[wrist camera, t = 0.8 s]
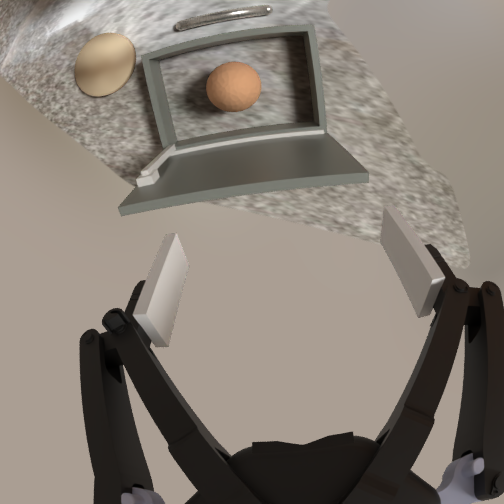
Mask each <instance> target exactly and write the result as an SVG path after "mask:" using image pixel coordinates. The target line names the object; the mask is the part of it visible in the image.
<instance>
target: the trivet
mask: <svg viewBox="0 0 504 504" xmlns="http://www.w3.org/2000/svg"><path fill="white" fill-rule="evenodd" d="M135 64H136V52H135V48H134V46H133V44H132V43H131V41H130V40H129V39H128V38H126V37H125V36H123V35H120V34H115V33H104V34H100V35H98V36H96V37H94V38H92V39H91V40H90V41H89V42H87V43H86V44H85V46H84V47H83V48H82V50H81V51H80V53H79V55H78V57H77V60H76V64H75V78H76V82H77V84H78V86H79V87H80V89H81V90H82V91H83V92H85V93H86V94H88V95H91V96H105V95H109V94H112V93H114V92H116V91H118V90H119V89H120V88H122V87H123V86H124V85H125V84H126V83H127V81H128V80H129V79H130V77H131V75H132V73H133V71H134V68H135Z"/></svg>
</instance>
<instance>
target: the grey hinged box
mask: <svg viewBox="0 0 504 504" xmlns="http://www.w3.org/2000/svg"><path fill="white" fill-rule="evenodd" d="M300 35H303V40H304V46H305V52H306V59H307V66H308V73H309V81H310V89H311V98H312V107H313V117H314V121H311V122H298V123H287V124H277V125H269V126H261V127H253V128H246V129H240V130H233V131H227V132H221V133H216V134H211V135H205V136H200V137H195V138H191V139H186V140H182V141H177V138H176V134H175V130H174V126H173V122H172V118H171V113H170V109H169V105H168V100H167V96H166V92H165V87H164V82H163V78H162V73H161V68H160V64H159V60H162V59H165V58H168V57H172V56H175V55H179V54H182V53H186V52H190V51H194V50H198V49H203V48H207V47H212V46H217V45H222V44H227V43H233V42H239V41H246V40H253V39H261V38H271V37H283V36H300ZM141 58H142V63H143V68H144V72H145V77H146V81H147V86H148V90H149V95H150V99H151V103H152V107H153V112H154V116H155V120H156V124H157V128H158V131H159V135H160V139H161V143H162V147H163V151H162V152H161V153H160V154H159V155H158V156H157V157H155V158H154V159H153V160H152V161H151V162H150V163H149V164H148V165H147V166H146V167H145V168H144V169H143V170H142V171H141V175H140V176H139V177H138V178H137V179H136V181H137V184H138V185H137V186H136V187H135V188H134V190H133V191H132V192H131V193H130V194H129V195H128V196H127V197H126V199H125V200H124V201H123V202H122V203H121V204H120V206H119V207H118V209H119V212H120V214H121V216H125V215H129V214H134V213H140V212H144V211H149V210H155V209H160V208H166V207H172V206H177V205H183V204H189V203H195V202H201V201H208V200H214V199H221V198H228V197H235V196H242V195H249V194H257V193H265V192H273V191H282V190H291V189H300V188H310V187H321V186H332V185H344V184H358V183H369V172H368V171H367V170H366V169H365V168H364V167H363V166H362V165H361V164H360V163H359V162H358V161H357V160H356V159H355V158H354V157H353V156H352V155H351V154H350V153H349V152H348V151H347V150H346V149H345V148H344V147H342V146H341V145H340V144H339V143H338V142H337V141H336V140H335V139H334V138H333V137H332V136H330V135H329V134H328V133H327V123H326V111H325V101H324V91H323V82H322V74H321V66H320V58H319V52H318V45H317V38H316V32H315V27H314V25H289V26H275V27H264V28H256V29H248V30H241V31H235V32H229V33H223V34H218V35H213V36H208V37H204V38H199V39H195V40H191V41H187V42H183V43H180V44H176V45H173V46H169V47H166V48H163V49H160V50H157V51H153V52H151V53H148V54H145V55H142V56H141Z"/></svg>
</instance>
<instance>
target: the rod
mask: <svg viewBox="0 0 504 504" xmlns="http://www.w3.org/2000/svg"><path fill="white" fill-rule="evenodd" d="M272 12H273V9H272V7H271V6H269V5H260V6H252V7H244V8H237V9H231V10H225V11H220V12H215V13H210V14H205V15H201V16H197V17H193V18H189V19H185V20H181V21H179V22H177V23H176V29H177V30H180V31H182V30H186V29H190V28H194V27H198V26H202V25H206V24H211V23H216V22H221V21H226V20H232V19H238V18H245V17H253V16H262V15H269V14H271V13H272Z"/></svg>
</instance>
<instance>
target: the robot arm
mask: <svg viewBox="0 0 504 504" xmlns="http://www.w3.org/2000/svg"><path fill="white" fill-rule="evenodd" d="M380 242H381V244H382V246H383V248H384V250H385V251H386V253H387V255H388V257H389V259H390V261H391V262H392V264H393V266H394V268H395V270H396V272H397V274H398V276H399V278H400V280H401V282H402V284H403V286H404V288H405V290H406V292H407V295H408V297H409V299H410V301H411V303H412V305H413V308H414V310H415V312H416V314H417V317H418V318H420V317H424V316H428V315H430V314H431V311H432V309H433V308H434V310H435V312H436V314H435V316H434V319H433V321H432V323H431V325H430V326H431V328H430V331H429V333H428V336H427V339H426V342H425V344H424V346H423V349H422V352H421V354H420V357H419V359H418V361H417V364H416V366H415V368H414V371H413V373H412V375H411V377H410V379H409V381H408V383H407V385H406V388H405V390H404V392H403V394H402V396H401V398H400V400H399V402H398V403H397V405H396V407H395V409H394V411H393V413H392V415H391V416H390V418H389V420H388V422H387V423H386V425H385V426H384V428H383V429H382V431H381V432H380V433H379V435H378V437H377V438H376V440H375V441H373V440H370V439H368V438H365V437H360V436H353V432H348V433H343V434H337V435H331V436H327V437H324V438H322V439H319V440H316V441H313V442H311V443H308V444H305V445H299V444H291V443H285V442H279V441H272V442H271V441H270V442H253V443H252V447H248V448H245V449H243V450H241V451H239V452H237V453H236V454H234V455H233V456H231V455H230V454H229V453H228V452H227V451H226V450H225V449H224V448H223V447H222V446H221V445H220V444H219V443H218V441H217V440H216V439H215V438H214V437H213V436H212V434H211V433H210V432H209V431H208V430H207V428H206V427H205V426H204V424H203V423H202V422H201V421H200V419H199V418H198V417H197V415H196V414H195V413H194V411H193V410H192V409H191V407H190V406H189V405H188V403H187V402H186V400H185V399H184V398H183V396H182V395H181V393H180V392H179V391H178V389H177V388H176V386H175V385H174V383H173V382H172V380H171V379H170V378H169V376H168V374H167V373H166V371H165V370H164V368H163V367H162V365H161V364H160V362H159V361H158V359H157V357H156V356H155V354H154V353H153V351H152V349H151V348H150V344H151V341H152V343H153V344H154V345H155V347H169V342H170V338H171V334H172V330H173V326H174V321H175V318H176V314H177V309H178V306H179V302H180V298H181V294H182V290H183V287H184V283H185V280H186V276H187V272H188V269H189V264H188V261H187V258H186V256H185V253H184V251H183V248H182V246H181V243H180V241H179V238H178V235H177V233H172V234H166V235H165V237H164V240H163V242H162V244H161V247H160V249H159V251H158V253H157V255H156V258H155V260H154V262H153V265H152V267H151V270H150V272H149V274H148V277H147V279H146V280H143V281H140V282H139V283H138V284H137V286H135V288H134V290H133V293H132V296H131V298H130V301H129V303H128V305H127V307H126V310H125V312H123V311H122V309H119V308H115V309H112V310H109V311H108V312H107V313H106V314H105V315H104V317H103V319H102V325H103V326H104V327H105V329H106V330H107V332H104V333H101V334H99V333H98V331H96V330H95V329H90V330H87V331H86V332H85V333H84V334H83V335H82V336H81V338H80V380H81V394H82V405H83V414H84V422H85V429H86V436H87V442H88V447H89V453H90V458H91V463H92V468H93V472H94V476H95V480H94V504H165V502H164V501H163V499H162V498H161V496H160V495H159V494H158V493H156V492H154V488H153V483H152V479H151V476H150V472H149V469H148V466H147V463H146V460H145V457H144V454H143V450H142V447H141V443H140V440H139V437H138V433H137V429H136V425H135V421H134V417H133V413H132V409H131V404H130V400H129V395H128V390H127V385H126V381H125V375H124V369H123V365H124V366H125V368H126V370H127V372H128V374H129V376H130V378H131V380H132V382H133V384H134V386H135V388H136V390H137V392H138V394H139V395H140V397H141V399H142V401H143V403H144V405H145V406H146V408H147V410H148V412H149V413H150V415H151V417H152V419H153V420H154V422H155V423H156V425H157V426H158V428H159V430H160V431H161V433H162V435H163V436H164V438H165V439H166V441H167V443H168V445H169V446H168V449H169V452H170V453H171V455H172V456H173V458H174V459H175V461H176V462H177V464H178V465H179V466H180V468H181V469H182V471H183V472H184V473H185V475H186V476H187V477H188V479H189V480H190V481H191V483H192V484H193V485H194V486H195V488H196V489H197V490H198V491H197V492H196V493H195V494H194V495H193V496H192V497H191V498H190V499H189V500H188V501H187V502H186V503H185V504H471V503H473V502H479V501H484V500H489V499H493V498H496V497H499V496H500V495H501V494H503V492H504V307H503V301H502V296H501V292H500V289H499V287H498V286H497V285H496V284H494V283H493V282H490V281H486V282H484V283H483V284H482V286H481V288H473V287H469V285H468V284H467V283H466V282H465V281H463V280H462V279H458V278H456V277H455V275H454V274H453V272H452V271H451V269H450V268H449V266H448V265H447V263H446V262H445V260H444V259H443V257H441V254H440V253H439V251H438V250H437V249H436V248H435V247H433V246H432V245H431V244H428V245H424V244H423V242H422V241H421V240H420V238H419V237H418V235H417V234H416V233H415V231H414V230H413V229H412V227H411V226H410V224H409V223H408V222H407V220H406V219H405V218H404V217H403V215H402V214H401V213H400V211H399V210H398V209H397V208H396V206H395V205H390V206H384V211H383V221H382V230H381V239H380ZM464 325H465V361H464V362H465V363H464V380H463V392H462V400H461V408H460V415H459V421H458V427H457V433H456V438H455V443H454V449H453V459H452V463H450V464H449V465H448V467H447V468H446V470H445V472H444V474H443V478H442V482H441V484H440V486H439V487H438V488H437V489H436V490H435V489H434V488H433V487H432V486H431V485H429V484H428V483H427V482H425V481H424V480H423V479H421V478H420V477H419V476H417V475H416V474H415V473H413V472H412V471H411V470H410V469H411V467H412V466H413V464H414V462H415V461H416V459H417V457H418V455H419V453H420V451H421V450H422V448H423V446H424V444H425V442H426V439H427V438H428V436H429V434H430V431H431V429H432V427H433V424H434V420H435V419H434V414H435V412H436V409H437V407H438V405H439V402H440V399H441V397H442V395H443V392H444V389H445V387H446V384H447V381H448V378H449V375H450V372H451V369H452V366H453V363H454V360H455V356H456V353H457V349H458V346H459V342H460V338H461V334H462V330H463V326H464Z"/></svg>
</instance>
